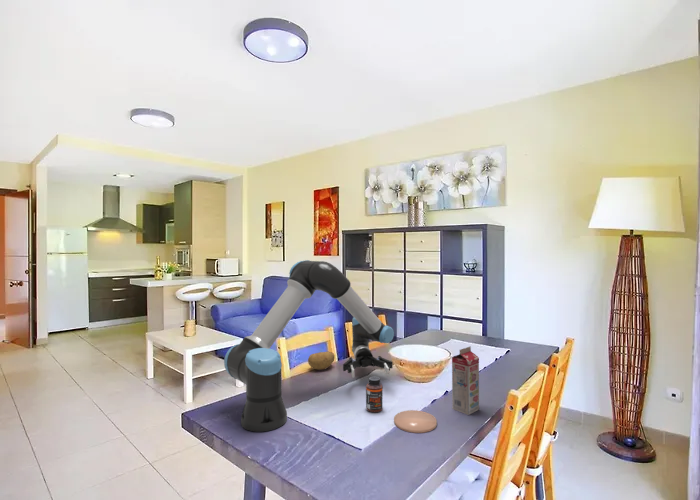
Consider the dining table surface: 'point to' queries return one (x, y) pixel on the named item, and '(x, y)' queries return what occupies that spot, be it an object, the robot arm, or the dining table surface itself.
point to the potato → (321, 360)
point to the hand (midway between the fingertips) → (370, 372)
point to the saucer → (415, 421)
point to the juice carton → (465, 382)
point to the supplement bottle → (374, 395)
